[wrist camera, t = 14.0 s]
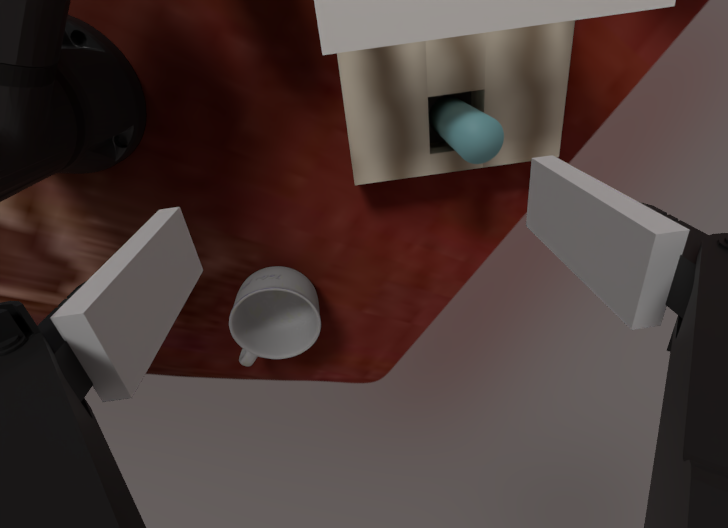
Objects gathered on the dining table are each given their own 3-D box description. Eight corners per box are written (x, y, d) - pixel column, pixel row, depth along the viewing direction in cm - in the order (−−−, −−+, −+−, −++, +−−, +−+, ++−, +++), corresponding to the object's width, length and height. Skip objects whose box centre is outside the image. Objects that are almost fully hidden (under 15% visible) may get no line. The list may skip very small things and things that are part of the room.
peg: (430, 136, 46) (457, 167, 35) (428, 99, 44) (456, 119, 33) (465, 131, 46) (503, 160, 35) (465, 93, 44) (505, 112, 33)
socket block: (353, 171, 48) (354, 185, 43) (324, -37, 38) (323, -46, 34) (538, 146, 48) (558, 157, 43) (557, -70, 38) (586, -84, 34)
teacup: (278, 240, 52) (269, 272, 45) (338, 290, 56) (339, 326, 49) (210, 305, 56) (193, 343, 49) (271, 347, 60) (263, 388, 53)
